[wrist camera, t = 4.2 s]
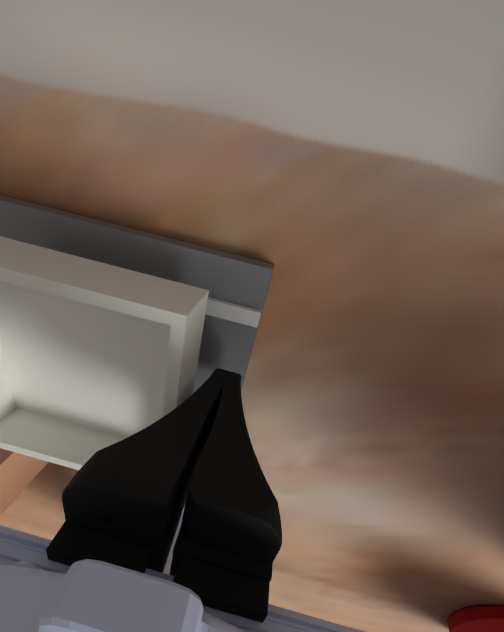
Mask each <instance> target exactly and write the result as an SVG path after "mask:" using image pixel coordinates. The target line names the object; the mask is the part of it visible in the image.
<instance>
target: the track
mask: <svg viewBox="0 0 504 632" xmlns="http://www.w3.org/2000/svg"><path fill="white" fill-rule="evenodd" d="M0 236H1V237H5V238H9V239H13V240H17V241H21V242H24V243H28V244H32V245H36V246H40V247H44V248H48V249H51V250H55V251H59V252H63V253H67V254H71V255H75V256H78V257H82V258H86V259H90V260H94V261H98V262H102V263H106V264H109V265H113V266H117V267H121V268H125V269H129V270H133V271H136V272H140V273H144V274H148V275H152V276H156V277H160V278H163V279H167V280H171V281H175V282H179V283H183V284H187V285H190V286H194V287H198V288H202V289H206V290H209V294H208V300H207V307H206V313H205V319H204V326H203V332H202V339H201V345H200V351H199V358H198V364H197V371H196V377H195V384H194V390H193V393H194V392H195V391H196V390H197V389H198V388H199V387H200V386H201V385H202V384H203V383H204V382H205V381H206V380H207V379H208V378H209V377H210V376H211V374H212V373H213V372H214V371H215V369H217V368H220V369H224V370H227V371H231V372H235V373H238V374H240V375H241V376H242V377H241V388H242V384H243V380H244V377H245V373H246V369H247V365H248V361H249V358H250V354H251V350H252V346H253V342H254V339H255V335H256V331H257V327H258V323H259V320H260V316H261V312H262V308H263V304H264V300H265V297H266V293H267V289H268V285H269V281H270V278H271V274H272V270H273V266H274V264H271V263H267V262H263V261H259V260H255V259H251V258H248V257H244V256H240V255H236V254H232V253H228V252H224V251H220V250H216V249H212V248H208V247H204V246H200V245H196V244H192V243H189V242H185V241H181V240H177V239H173V238H169V237H165V236H161V235H157V234H153V233H149V232H145V231H141V230H137V229H134V228H130V227H126V226H122V225H118V224H114V223H110V222H106V221H102V220H98V219H94V218H90V217H86V216H82V215H78V214H75V213H71V212H67V211H63V210H59V209H55V208H51V207H47V206H43V205H39V204H35V203H31V202H27V201H23V200H20V199H16V198H12V197H8V196H4V195H0Z"/></svg>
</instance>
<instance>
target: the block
mask: <svg viewBox="0 0 504 632" xmlns="http://www.w3.org/2000/svg"><path fill="white" fill-rule="evenodd" d="M47 463H48V461H44V460H40V459H37V458H33V457H30V456H26V455H23V454H19V453H16V452H12V451H9V450H5V449H2V448H0V515H1V514H2V513H3V512H4V511H5V510H6V509H7V508H8V507H9V505H10V504H11V503H12V502H13V501H14V500H15V499H16V498H17V497H18V495H19V494H20V493H21V492H22V491H23V490H24V489H25V488H26V487H27V485H28V484H29V483H30V482H31V481H32V480H33V479H34V478H35V477H36V476H37V474H38V473H39V472H40V471H41V470H42V469H43V468H44V467H45V466H46V464H47Z"/></svg>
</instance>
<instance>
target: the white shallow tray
mask: <svg viewBox="0 0 504 632" xmlns="http://www.w3.org/2000/svg"><path fill="white" fill-rule="evenodd" d="M208 294H209V290H206V289H202V288H198V287H194V286H190V285H187V284H183V283H179V282H175V281H171V280H167V279H163V278H160V277H156V276H152V275H148V274H144V273H140V272H136V271H133V270H129V269H125V268H121V267H117V266H113V265H109V264H106V263H102V262H98V261H94V260H90V259H86V258H82V257H78V256H75V255H71V254H67V253H63V252H59V251H55V250H51V249H48V248H44V247H40V246H36V245H32V244H28V243H24V242H21V241H17V240H13V239H9V238H5V237H1V236H0V448H2V449H5V450H9V451H12V452H16V453H19V454H23V455H26V456H30V457H33V458H37V459H40V460H44V461H48V462H51V463H55V464H58V465H62V466H65V467H69V468H72V469H76V470H80V468H81V467H82V466H83V465H84V464H85V463H86V462H87V461H88V460H89V459H90V458H91V457H92V456H93V455H94V454H95V453H96V452H97V451H98V450H101V449H103V448H105V447H108V446H110V445H112V444H114V443H117V442H119V441H121V440H123V439H125V438H127V437H129V436H131V435H133V434H135V433H137V432H139V431H141V430H142V429H144V428H146V427H148V426H150V425H151V424H153V423H154V422H156V421H158V420H159V419H161V418H162V417H164V416H165V415H167V414H168V413H169V412H171V411H172V410H174V409H175V408H176V407H178V406H179V405H180V404H181V403H183V402H184V401H185V400H186V399H187V398H188V397H190V396H191V395H192V394H193V390H194V384H195V377H196V371H197V364H198V358H199V351H200V345H201V339H202V332H203V326H204V319H205V313H206V307H207V300H208Z"/></svg>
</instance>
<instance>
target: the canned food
mask: <svg viewBox="0 0 504 632" xmlns="http://www.w3.org/2000/svg"><path fill="white" fill-rule="evenodd" d="M448 626H449V632H504V606H500V605H482V606H473V607H468V608H464V609H461V610H459V611H457V612H455V613H453V614H452V615H451V616H450V618H449V620H448Z"/></svg>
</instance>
